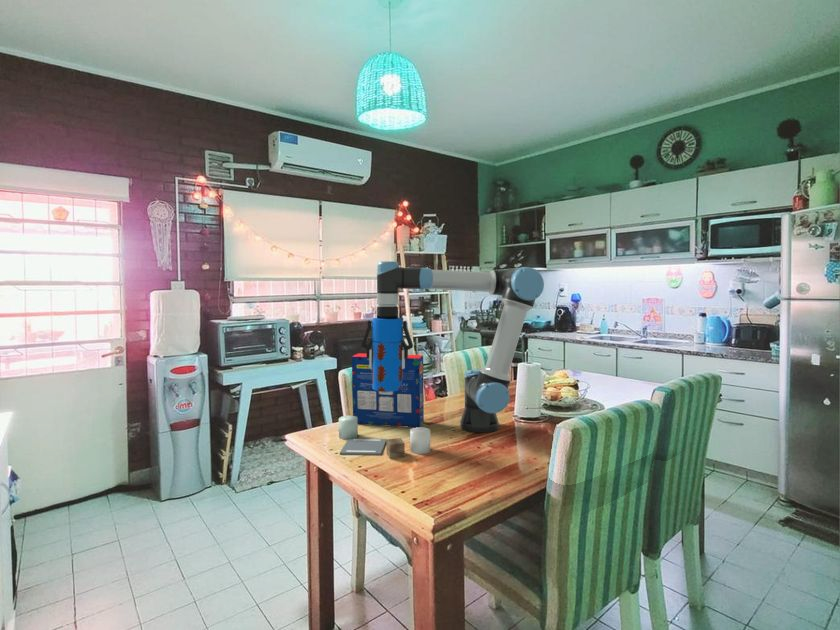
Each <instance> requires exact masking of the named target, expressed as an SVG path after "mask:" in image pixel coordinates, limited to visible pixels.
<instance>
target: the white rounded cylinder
mask: <svg viewBox="0 0 840 630" xmlns="http://www.w3.org/2000/svg"><path fill="white" fill-rule="evenodd" d="M409 443H410V444H409V450H410V453H412V454H415V455H425V454H428V453H430V452H431V429H430V428H428V427H422V426H421V427H417V428H414V427H411V429H409Z"/></svg>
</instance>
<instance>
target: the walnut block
mask: <svg viewBox="0 0 840 630" xmlns="http://www.w3.org/2000/svg"><path fill="white" fill-rule="evenodd" d="M385 439H386V455H387V456H388V459H390V460H394V459H402V458H405V455H406V454H405V452H406V450H405V449H406V448H405V441H404V440H403V439H402V437H398V438H389V439H387V438H385Z"/></svg>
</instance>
